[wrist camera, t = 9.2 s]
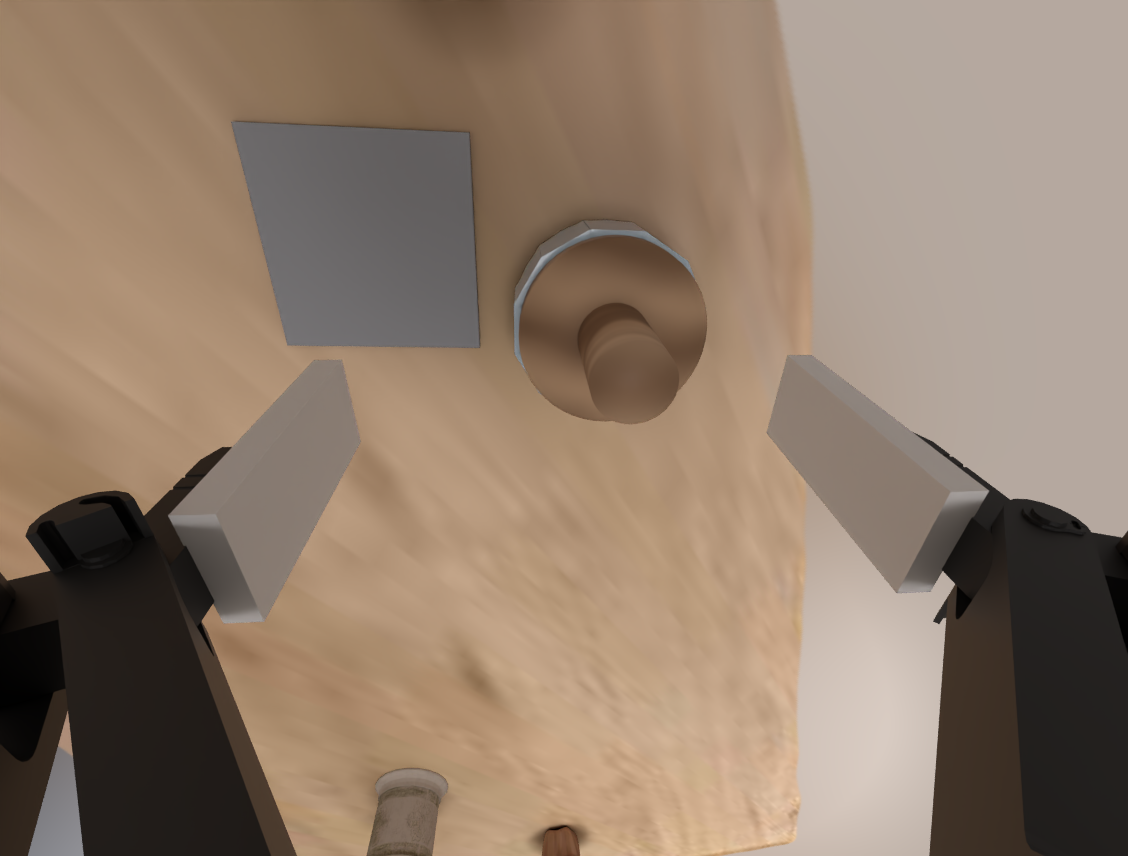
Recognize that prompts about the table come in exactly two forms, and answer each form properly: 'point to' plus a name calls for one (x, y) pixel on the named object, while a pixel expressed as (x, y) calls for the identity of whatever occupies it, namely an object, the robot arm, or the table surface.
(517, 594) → the table surface
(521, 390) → the table surface
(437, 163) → the mat
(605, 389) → the lid
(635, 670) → the table surface
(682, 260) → the bowl
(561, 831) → the cupcake
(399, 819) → the mug
